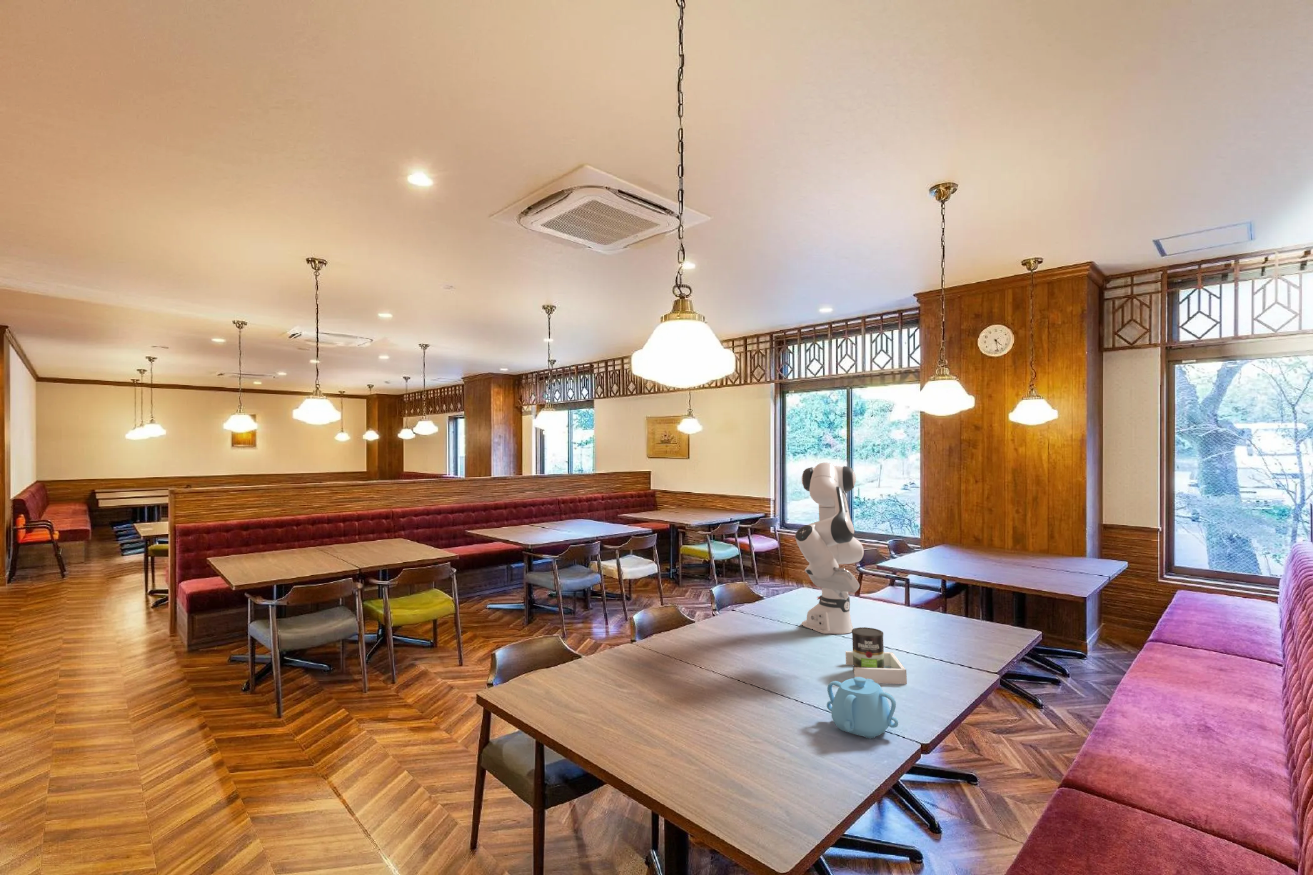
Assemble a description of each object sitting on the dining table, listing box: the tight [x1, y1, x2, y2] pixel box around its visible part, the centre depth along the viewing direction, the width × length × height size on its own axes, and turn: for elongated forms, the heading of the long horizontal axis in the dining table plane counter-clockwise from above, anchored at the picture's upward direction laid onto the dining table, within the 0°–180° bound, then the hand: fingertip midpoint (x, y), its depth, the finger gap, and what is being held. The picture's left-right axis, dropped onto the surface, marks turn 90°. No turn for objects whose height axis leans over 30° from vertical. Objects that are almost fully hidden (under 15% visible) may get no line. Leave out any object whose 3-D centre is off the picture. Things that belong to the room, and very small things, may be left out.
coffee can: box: [851, 626, 885, 673], centre depth 197 cm, size 10×10×14 cm
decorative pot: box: [826, 677, 899, 739], centre depth 157 cm, size 16×16×14 cm
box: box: [845, 650, 908, 685], centre depth 196 cm, size 16×17×4 cm
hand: (844, 596), depth 207 cm, fingers closed
